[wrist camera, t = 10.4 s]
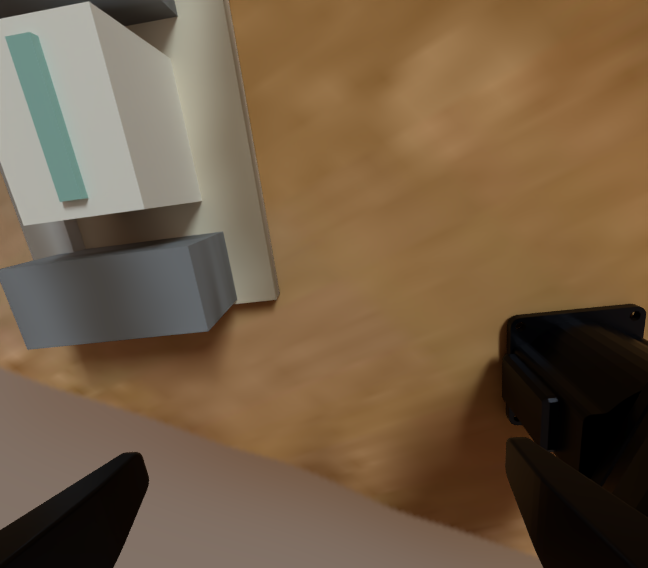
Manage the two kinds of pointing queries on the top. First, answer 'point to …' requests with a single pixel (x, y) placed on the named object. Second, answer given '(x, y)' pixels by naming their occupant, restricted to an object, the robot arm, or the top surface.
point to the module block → (89, 118)
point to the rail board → (161, 222)
